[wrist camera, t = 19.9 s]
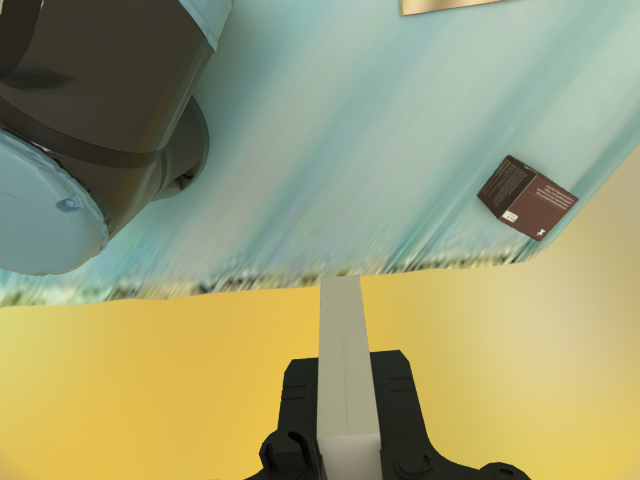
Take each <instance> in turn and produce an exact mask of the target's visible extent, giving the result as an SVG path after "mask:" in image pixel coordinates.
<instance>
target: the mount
mask: <svg viewBox="0 0 640 480" xmlns="http://www.w3.org/2000/svg"><path fill="white" fill-rule="evenodd" d="M495 1H502V0H400V16H402V15H409V14H416V13H422V12H429V11H436V10H442V9H449V8H456V7H462V6H469V5H476V4H482V3H489V2H495Z"/></svg>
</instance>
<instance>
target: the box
mask: <svg viewBox="0 0 640 480" xmlns="http://www.w3.org/2000/svg"><path fill="white" fill-rule="evenodd" d="M477 196H478V197H479V198H480V199H481V200H482V201H483V202H484V204H485V205H486V206H487V207H488V208H489V209H490V211H491V212H492V213H493V214H494V215H495V216H496V217H497V219H498V220H499V221H501V222H503V223H505V224H507V225H509V226H510V227H512V228H514V229H516V230H517V231H519V232H521V233H524V234H525V235H527V236H529V237H531V238H533V239H535V240H537V241H541V240H542V239H543V238H544V237H545V236H546V235H547V234H548V232H549V231H550V230H551V229H552V228H553V227H554V226H555V225H556V224H557V223H558V222H559V221H560V219H561V218H562V217H563V216H564V215H565V214H566V213H567V212H568V211H569V210H570V209H571V208H572V207H573V206H574V204H575V203H576V202H577V201H578V200H579V199H578V198H577V197H575V196H574V195H572V194H571V193H569V192H567V191H566V190H564V189H563V188H562V187H560V186H559V185H557V184H556V183H554V182H553V181H551V180H550V179H548V178H547V177H546V176H544V175H542V174H541V173H539V172H537V171H536V170H534V169H533V168H531V167H529V166H527V165H526V164H524V163H523V162H521V161H519V160H517V159H515V158H514V157H512V156H510V155H508V156H507V157H506V158H505V159H504V161H503V162H502V163H501V164H500V166H499V167H498V169H497V170H496V171H495V173H494V174H493V175H492V176H491V178H490V179H489V180H488V181H487V183H486V184H485V185H484V187H483V188H482V189H481V190H480V192H479V193H478V195H477Z"/></svg>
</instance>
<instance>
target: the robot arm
mask: <svg viewBox="0 0 640 480" xmlns="http://www.w3.org/2000/svg"><path fill="white" fill-rule="evenodd" d="M233 1H234V0H0V267H1V268H3V269H6V270H9V271H13V272H17V273H21V274H26V275H34V276H44V275H47V274H52V275H59V274H64V273H67V272H70V271H72V270H74V269H76V268H78V267H80V266H81V265H82V264H84V263H85V262H86V261H87V260H89V259H90V258H91V257H94V256H96V255H98V254H100V253H101V251H103V250H104V249H105V247H106V245H107V243H108V242H109V241H110V240H111V239H112V238H113V237H114V236H115V235H116V234H117V233H118V232H119V231H120V230H121V229H122V228H123V227H124V226H125V225H126V224H127V223H128V222H129V221H130V220H132V219H133V218H134V217H135V216H136V215H137V214H138V213H139V212H140V211H141V210H142V209H143V208H144V207H145V206H146V205H147V204H148V203H149V202H150V201H155V200H160V199H164V198H168V197H171V196H174V195H176V194H178V193H179V192H181V191H183V190H184V189H186V188H187V187H188V186H189V185H190V184H191V183H192V182H193V181H194V180H195V179H196V178H197V176H198V175H199V174H200V172H201V171H202V169H203V167H204V165H205V163H206V160H207V156H208V150H209V136H208V129H207V125H206V122H205V119H204V116H203V114H202V112H201V110H200V108H199V106H198V104H197V103H196V101H195V100H194V98H193V97H192V96H191V95H192V93H193V91H194V88H195V86H196V84H197V82H198V80H199V78H200V76H201V74H202V72H203V70H204V68H205V66H206V64H207V62H208V60H209V58H210V56H211V54H212V52H213V53H216V51H217V49H218V42H217V41H218V39H219V37H220V35H221V32H222V30H223V28H224V25H225V23H226V21H227V19H228V16H229V14H230V12H231V9H232V6H233ZM368 347H369V346H368V339H367V332H366V323H365V316H364V309H363V302H362V293H361V285H360V278H359V275H351V276H341V277H331V278H321V290H320V329H319V357H318V358H306V359H293V360H292V361H291V362H290V364H289V366H288V367H287V369H286V371H285V372H284V380H283V390H282V396H281V404H280V412H279V421H278V428H277V430H276V431H275V432H273V433H271V434H270V435H269V436H268V437H267V438H266V439H265V441H264V442H263V443H262V446H261V449H260V452H259V456H260V459H261V462H262V465H263V467H264V468H263V469H262V470H260V471H259V472H258V473H257V474H255V475H253V476H251V477H249V478H247V479H244V480H531V479H530V478H529V477H528V476H527V475H526V474H525V473H524V472H523V471H521V470H519V469H517V468H516V467H515V466H513V465H509V464H506V463H502V462H496V463H489V464H487V465H485V466H484V467H482V468H481V469H480V470H478V469H474V468H471V467H467V466H463V465H459V464H457V463H454V462H451V461H449V460H447V459H446V458H444V457H443V456H441V455H440V454H439V453H438V452H437V451H436V450H435V449H434V447H433V446H432V444H431V443H430V441H429V438H428V435H427V432H426V428H425V424H424V420H423V416H422V412H421V408H420V404H419V400H418V396H417V391H416V388H415V384H414V380H413V375H412V371H411V368H410V363H409V361H408V360H407V358H406V357H405V356H404V355H403V354H402V353H401V351H400V350H392V351H380V352H369V348H368Z"/></svg>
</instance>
